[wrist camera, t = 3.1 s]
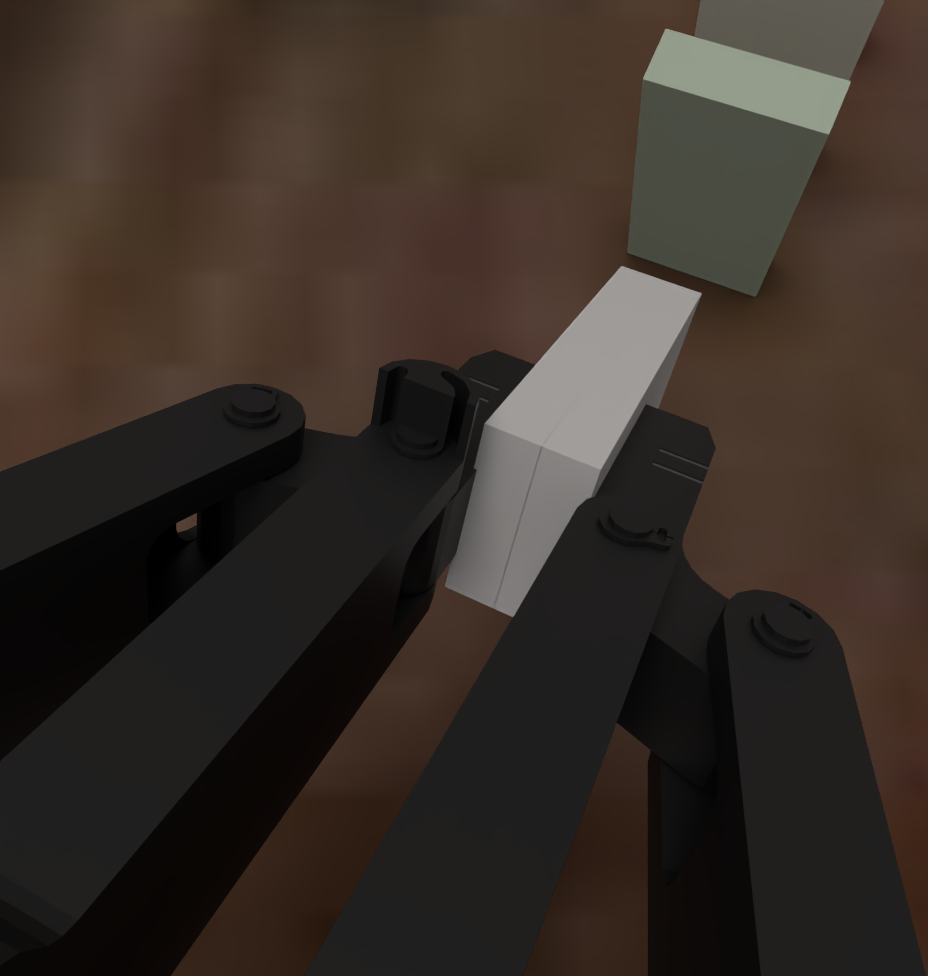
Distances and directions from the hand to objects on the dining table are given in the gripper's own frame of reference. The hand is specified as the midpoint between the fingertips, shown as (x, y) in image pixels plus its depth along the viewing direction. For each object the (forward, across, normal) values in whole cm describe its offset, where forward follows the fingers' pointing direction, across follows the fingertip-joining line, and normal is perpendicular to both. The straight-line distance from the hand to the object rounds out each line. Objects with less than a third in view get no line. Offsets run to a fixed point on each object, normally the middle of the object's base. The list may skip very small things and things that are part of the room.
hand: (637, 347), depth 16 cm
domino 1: (+18, -1, -4) cm, 18 cm away
